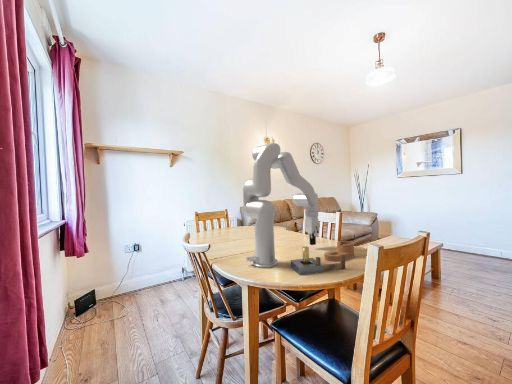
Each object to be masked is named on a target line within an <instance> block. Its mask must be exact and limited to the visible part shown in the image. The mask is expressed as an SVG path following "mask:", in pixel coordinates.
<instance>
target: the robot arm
mask: <svg viewBox="0 0 512 384" xmlns="http://www.w3.org/2000/svg"><path fill="white" fill-rule="evenodd" d="M251 157H252V159H253V160H254V162H253V168H252V169H253V171H252V172H253V173H252V178H250V179H246V181H245V183H244V185H243V187H242V201H243V211H244V214H245V216H247V217H248V218H250V219H256V222H255V224H254V230H253V231H254V248H255V250H254V251H255V253H254V255H252V256H246V257H245V258H246V259H245V260H246V262H250V263H252V265H253V266H254V267H256V268H261V269H262V268H273V267H276V266H278V264H279V260H278V259H277V258H276V255H275V254H276V253H275V252H276V251H275V232H274V231H275V230H274V226H275V225H274V223H275V222H274V221H275V214H276V208H275V205H274V204H273V203H272V201H270V200H267V199H259V198H266V197H269V195H271V192H272V181H271V180H272V179H271V169H275V170H276V169H280V171H281V173H282V175H283V178H284V180H285V183H287V184H289V185H291V186H292V187H295V188H297V189H299V190H300V191H301V192H298V193H294V195H293V196H292V199H291V200H292V203H293V204H294V205H295V206H297V207H304V211H305V212H304V213H305V214H304V216H305V217H304V218H305V219H304V231H305V233H307V234H308V237H309V245H310V246H316V245H317V241H316V239H317V237H318V234H319V233H320V232H319V231H320V224H319V222H320V221H319V197H318V193H317V192H316V191H315V189H314V187H313V186H312V184H311V183H310V182H309V181H308V180H307V179H305V178H304V177H303V176H302V175H301V174H300V172H299V170H298V167H297V165H296V162H295V159H294V157H293V156H292V154H291V153H290V152H288V151H283V152H282V151H281V146H280V145H279V143H276V142H270V143H265V144H263V145H258V146H256V147H255V148H253V150H252V151H251Z"/></svg>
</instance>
